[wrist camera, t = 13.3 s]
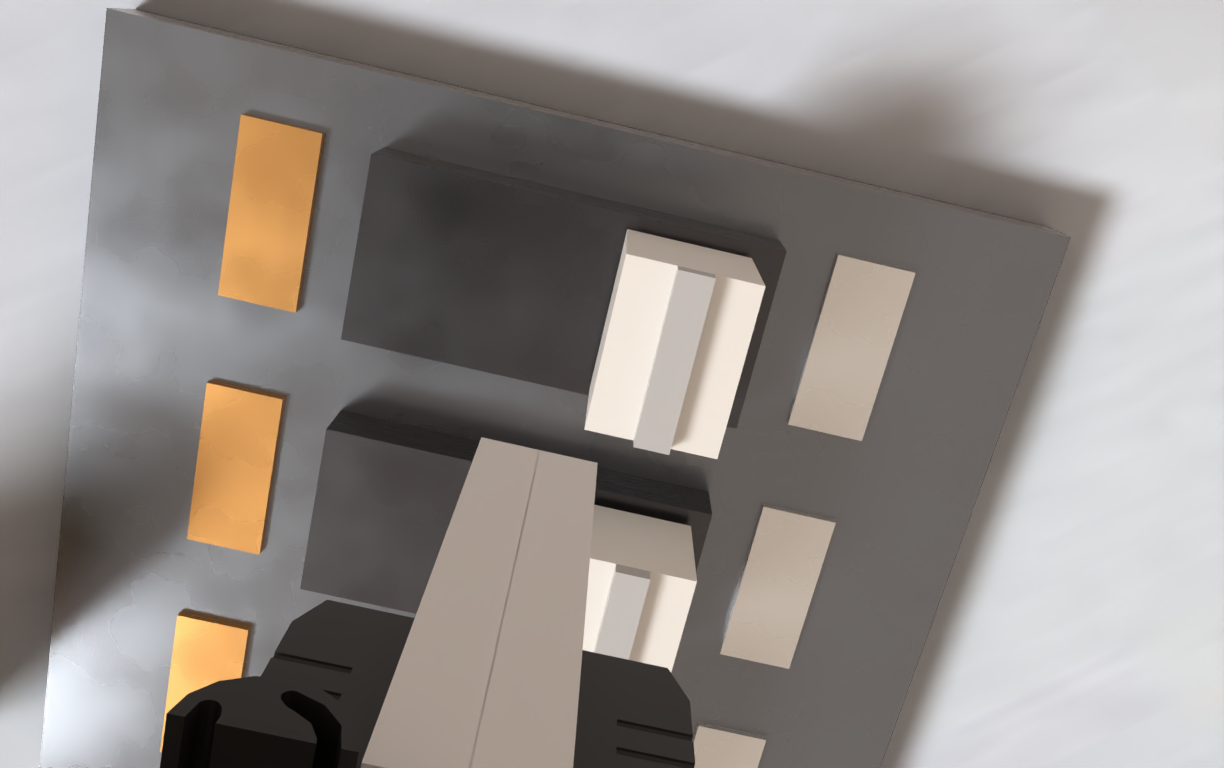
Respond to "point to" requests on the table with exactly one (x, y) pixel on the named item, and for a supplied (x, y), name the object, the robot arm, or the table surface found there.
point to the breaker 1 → (673, 345)
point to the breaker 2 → (638, 586)
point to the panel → (496, 385)
